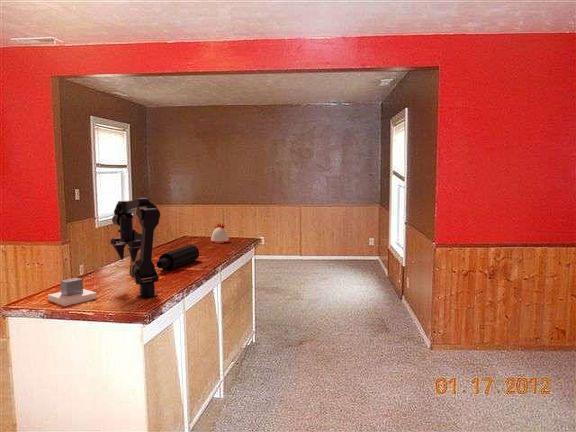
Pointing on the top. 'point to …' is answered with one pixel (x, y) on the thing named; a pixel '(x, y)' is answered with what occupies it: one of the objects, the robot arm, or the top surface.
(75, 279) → the block
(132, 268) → the ammunition clip
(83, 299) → the board
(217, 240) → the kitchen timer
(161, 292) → the top surface
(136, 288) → the top surface
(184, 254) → the roller
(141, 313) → the top surface
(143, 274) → the robot arm
